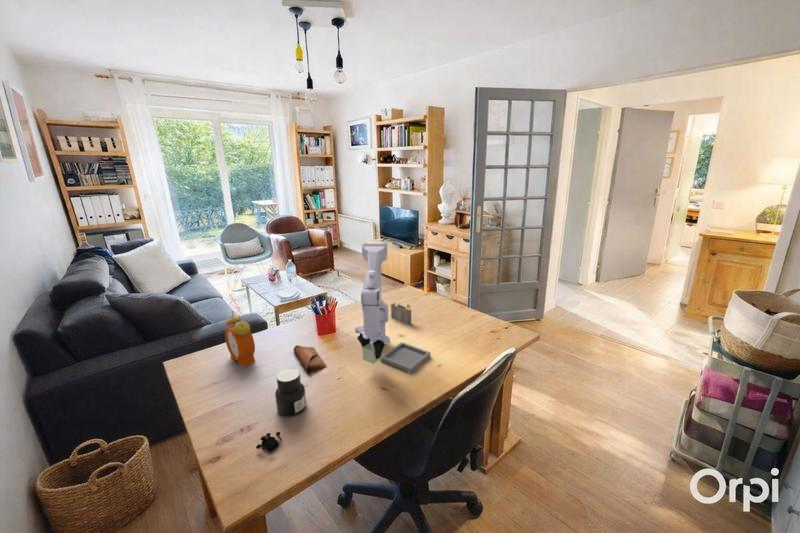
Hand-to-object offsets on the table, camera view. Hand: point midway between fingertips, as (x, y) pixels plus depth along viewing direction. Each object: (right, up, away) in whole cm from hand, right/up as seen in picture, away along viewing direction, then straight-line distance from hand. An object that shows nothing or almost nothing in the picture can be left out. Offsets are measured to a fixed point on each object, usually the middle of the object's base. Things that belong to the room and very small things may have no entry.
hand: (372, 355), depth 125 cm
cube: (0, -1, 0) cm, 1 cm away
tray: (+12, -4, +10) cm, 16 cm away
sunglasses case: (-25, -5, +10) cm, 28 cm away
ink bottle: (-24, -12, -17) cm, 32 cm away
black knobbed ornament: (-26, -17, -31) cm, 44 cm away
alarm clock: (-52, -4, +10) cm, 53 cm away
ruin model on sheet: (+11, +5, +43) cm, 45 cm away
